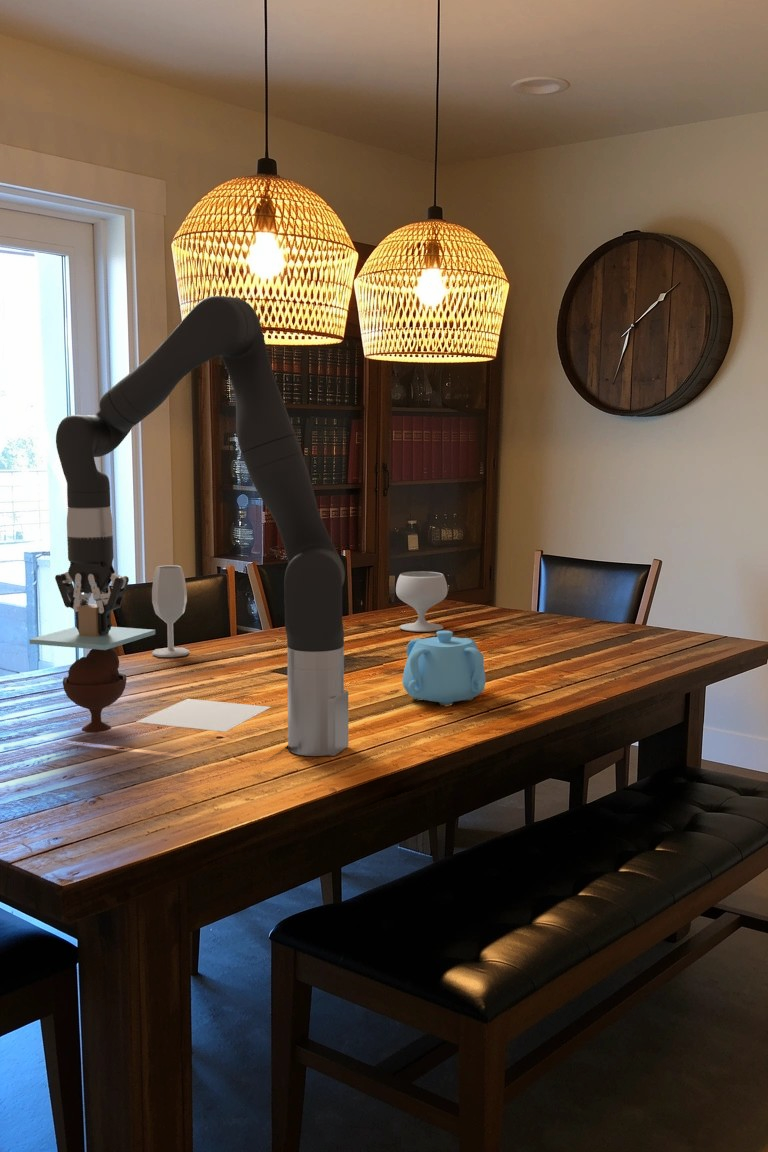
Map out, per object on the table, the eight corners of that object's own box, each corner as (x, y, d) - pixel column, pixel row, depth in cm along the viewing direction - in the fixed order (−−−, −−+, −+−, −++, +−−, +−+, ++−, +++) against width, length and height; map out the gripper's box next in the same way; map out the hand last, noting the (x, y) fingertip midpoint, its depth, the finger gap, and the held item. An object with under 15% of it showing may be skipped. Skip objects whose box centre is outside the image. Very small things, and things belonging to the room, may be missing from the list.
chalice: (444, 624, 290) (444, 570, 288) (449, 633, 276) (450, 577, 274) (394, 624, 289) (394, 570, 287) (397, 633, 275) (397, 577, 273)
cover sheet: (155, 634, 184) (154, 601, 184) (105, 650, 170) (104, 615, 170) (83, 629, 189) (82, 597, 189) (29, 643, 175) (28, 609, 175)
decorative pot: (485, 711, 197) (486, 640, 196) (400, 708, 199) (401, 638, 197) (484, 690, 213) (485, 625, 212) (406, 688, 215) (406, 623, 213)
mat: (271, 710, 197) (271, 706, 197) (225, 735, 180) (225, 731, 180) (187, 701, 203) (187, 698, 203) (135, 725, 186) (135, 721, 186)
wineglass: (186, 650, 253) (185, 564, 250) (192, 657, 245) (190, 568, 242) (150, 652, 250) (147, 565, 248) (154, 659, 242) (151, 569, 239)
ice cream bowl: (102, 720, 190) (100, 638, 188) (141, 730, 183) (139, 646, 181) (51, 732, 181) (48, 647, 180) (89, 744, 174) (86, 656, 172)
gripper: (138, 533, 179) (141, 632, 181) (69, 530, 183) (72, 627, 186) (112, 536, 172) (115, 639, 174) (41, 534, 176) (45, 634, 179)
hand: (93, 632), depth 180 cm, fingers closed on cover sheet, 3 cm apart
